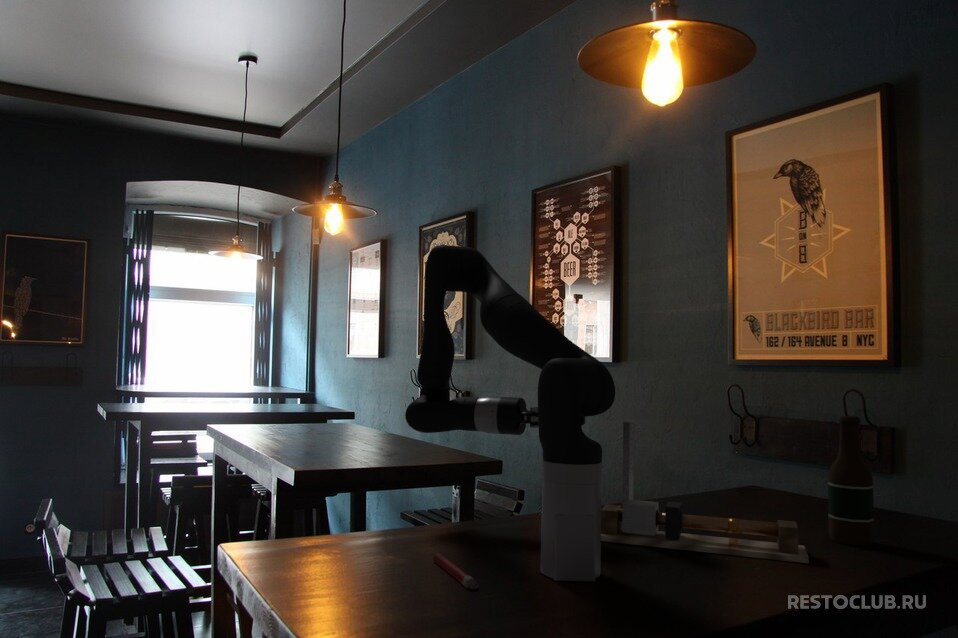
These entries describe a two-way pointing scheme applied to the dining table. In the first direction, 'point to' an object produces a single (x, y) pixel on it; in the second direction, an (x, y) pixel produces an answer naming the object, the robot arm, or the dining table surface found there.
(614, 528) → the pipe stand
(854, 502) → the beer bottle
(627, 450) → the grey l-shaped bracket
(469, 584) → the flare
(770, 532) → the pipe
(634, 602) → the dining table surface
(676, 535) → the ring
